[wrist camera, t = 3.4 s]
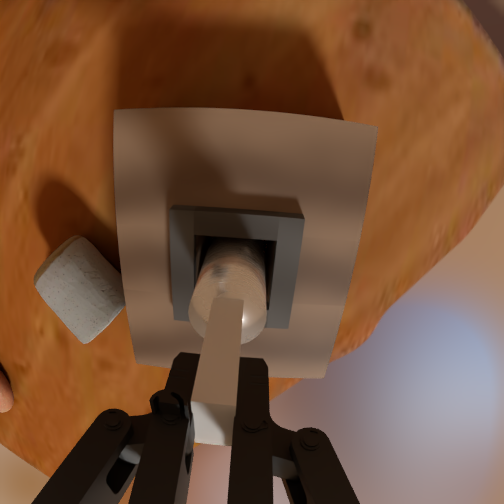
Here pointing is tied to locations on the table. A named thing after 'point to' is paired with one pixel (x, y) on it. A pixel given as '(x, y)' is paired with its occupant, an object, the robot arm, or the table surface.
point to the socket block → (240, 223)
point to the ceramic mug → (81, 287)
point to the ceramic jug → (5, 394)
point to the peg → (232, 283)
